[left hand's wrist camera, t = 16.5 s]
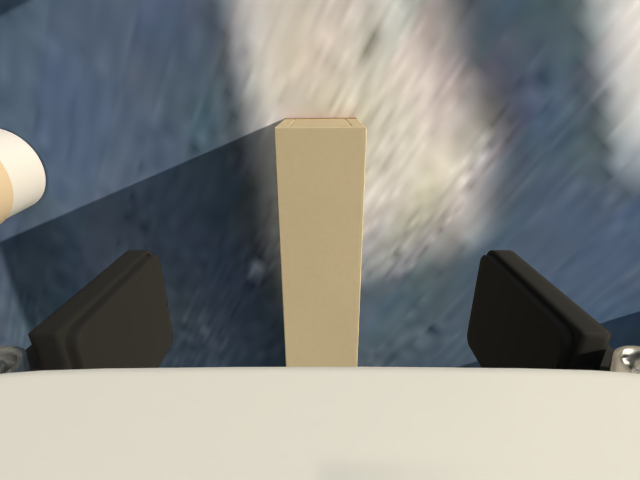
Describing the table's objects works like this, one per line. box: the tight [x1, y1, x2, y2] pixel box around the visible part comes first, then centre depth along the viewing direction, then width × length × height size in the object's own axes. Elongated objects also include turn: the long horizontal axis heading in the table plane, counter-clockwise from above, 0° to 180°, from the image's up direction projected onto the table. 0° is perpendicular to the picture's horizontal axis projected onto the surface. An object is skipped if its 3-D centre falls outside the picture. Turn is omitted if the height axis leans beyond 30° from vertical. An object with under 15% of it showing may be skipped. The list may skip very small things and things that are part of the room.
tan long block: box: [274, 118, 367, 367], centre depth 31 cm, size 22×6×8 cm, turn 0°
